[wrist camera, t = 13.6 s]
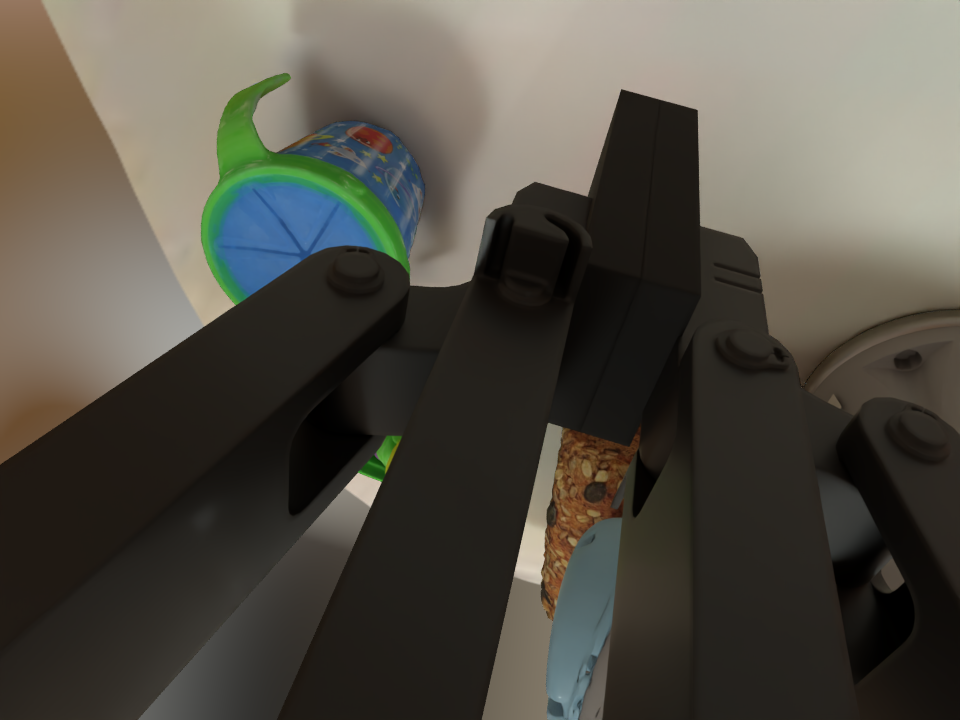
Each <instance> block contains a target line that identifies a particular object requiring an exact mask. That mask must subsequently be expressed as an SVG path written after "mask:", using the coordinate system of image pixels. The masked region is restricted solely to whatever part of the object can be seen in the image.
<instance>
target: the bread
mask: <svg viewBox="0 0 960 720" xmlns="http://www.w3.org/2000/svg"><path fill="white" fill-rule="evenodd" d="M640 430H641V424H640V426H639V428H638V430H637V432H636V434H635V436H634V438H633V440H632V443H631V445H630V447H628V446H624V445H621V444H618V443H614V442H611V441H608V440H604V439H601V438H598V437H594V436H591V435H588V434H585V433H581V432H578V431H575V430H571V429H568V428H565V427H563V430H562V438H561V448H560V450H559V453H558V465H557V468H556V471H555V478H554V485H553V489H552V496H553V497H552V499H551V501H550V506H549V507H548V509H547V528H546V531H545V550H546V551H545V553H544V557H545V561H544V565H543V568H542V571H541V574H542V577H543V579H542V582H541V588H542V590H541V601H542V604H543V607H544V610H546V613H547V616H548V618H549V619H551V620H552V621H553V619H554V613H555V609H556V604H557V599H558V595H559V591H560V587H561V584H562V580H563V577H564V574H565V571H566V568H567V565H568V562H569V560H570V557H571V555H572V554H573V551H574V549H575V547H576V545H577V543H578V541H579V540H580V538H581V537H582V536H583V534H584V533H585V532H586V531H587V530H588V529H589V528H590V527H592V526H593V525H594V524H596V523H597V522H599V521H602V520H605V519H609V518H622V515H623V505H624V498H623V500H622V502H621V504H620V506H619V508H618V510H617V509H614V508H611V507H610V506H611V503H612V501H613V498H614V496H615V494H616V492H617V490H618V488H619V486H620V484H621V482H622V480H623V478H624V475H625V473H626V471H627V469H628V467H629V465H630V463H631V461H632V459H633V457H634V455H635V453H636V451H637V449H638V447H639V443H640Z"/></svg>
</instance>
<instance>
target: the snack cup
mask: <svg viewBox="0 0 960 720" xmlns="http://www.w3.org/2000/svg"><path fill="white" fill-rule="evenodd" d="M290 79H291V76H290V75H289V74H287V73H283V74H280V75H275V76H273V77H270V78H267V79H265V80H263V81H261V82H259V83H257V84H255V85H253V86H251V87H249V88H246V89H244V90H242V91H240V92H238V93H237V94H235V95H234V96H233V97H232V98H231V99H230V101H229V102H228V104H227V106H226V107H225V109H224V112H223V115H222V117H221V119H220V124H219V129H218V134H217V157H218V164H219V170H220V172H219V174H220V179H219V182H218V185H217V186H216V188H215V189H214V190H213V192H212V193H211V195H210V196H209V198H208V200H207V202H206V205H205V207H204V210H203V214H202V221H201V241H202V245H203V249H204V253H205V256H206V260H207V263H208V265H209V267H210V269H211V271H212V273H213V275H214V277H215V279H216V280H217V282H218V284H219V285H220V287H221V288H222V289H223V291H224V292H225V293H226V294H227V296H228V297H229V298H230V299H231V300H232V302H233V303H234V304H235V305H237V304H239V303H240V302H242V301H243V300H245V299H246V298H248V297H249V296H250V295H252V294H253V293H255V292H256V291H258V290H259V289H261V288H262V287H264V286H265V285H267V284H268V283H270V282H271V281H273V280H274V279H276V278H277V277H279V276H280V275H282V274H283V273H285V272H286V271H287V270H289V269H290V268H292V267H293V266H295V265H296V264H298V263H299V262H301V261H302V260H304V259H305V258H307V257H308V256H310V255H311V254H314V253H316V252H318V251H320V250H323V249H325V248H329V247H337V246H344V245H349V246H362V247H368V248H371V249H374V250H377V251H380V252H384V253H386V254H388V255H389V256H391V257H392V258H394V259H396V260H397V261H399V262H400V263H401V264H402V265H403V267H404V268H405V269H406V271H407V272H408V273H409V280H410V266H409V261H408V258H409V256H410V250H411V247H412V244H413V241H414V237H415V234H416V230H417V225H418V222H419V219H420V215H421V208H422V205H423V199H424V196H425V184H424V183H423V180H422V177H421V173H420V169H419V167H418V165H417V163H416V162H415V160H414V158H413V156H412V155H411V154H410V152H409V151H408V150H407V148H406V147H405V146H404V145H403V144H402V143H401V141H400V139H399V137H397V136H395V135H394V134H393V133H392V132H391V131H389V130H385V129H383V128H380V127H377V126H375V125H371V124H368V123H364V122H358V121H342V122H335V123H333V124H330V125H328V126H325V127H323V128H322V129H320V130H317V131H315V132H314V133H313V134H311V135H308V136H306V137H304V138H302V139H300V140H299V141H297V142H295V143H293V144H291V145H290V146H288V147H286V148H284V149H282V150H281V151H279V152H277V153H274V152H271V151H269V150H268V149H266V148H265V146H264V145H263V143H262V142H261V140H260V138H259V136H258V133H257V131H256V128H255V125H254V123H253V120H252V116H253V113H254V111H255V109H256V106H257V103H258V101H259V99H260V98H261V97H263V96H264V95H266V94H267V93H269V92H271V91H273V90H275V89H276V88H278V87H280V86H282V85H283V84H285V83H286V82H288V81H289V80H290Z"/></svg>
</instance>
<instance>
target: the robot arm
mask: <svg viewBox="0 0 960 720" xmlns="http://www.w3.org/2000/svg"><path fill="white" fill-rule="evenodd" d="M760 276H761V275H760V268H759V261H758V257H757V256H756V254H755V253H754V252H753V250H752V249H751V248H750V246H749V245H748V244H747V242H746V241H745V240H744V239H743V238H741V237H737V236H734V235H730V234H726V233H723V232H719V231H716V230H712V229H709V228H705V227H702V226H700V203H699V151H698V110H695V109H692V108H688V107H684V106H681V105H677V104H673V103H670V102H666V101H662V100H659V99H655V98H651V97H648V96H644V95H640V94H637V93H633V92H629V91H626V90H622V89H621V92H620V95H619V99H618V102H617V105H616V108H615V111H614V114H613V118H612V121H611V124H610V127H609V130H608V133H607V137H606V140H605V143H604V146H603V149H602V152H601V156H600V159H599V162H598V165H597V168H596V172H595V175H594V178H593V181H592V184H591V187H590V191H589V194H588V197H587V196H583V195H579V194H576V193H572V192H569V191H565V190H562V189H558V188H555V187H551V186H547V185H544V184H540V183H537V182H534V183H532V184H530V185H529V186H527V187H525V188H523V189H521V190H520V191H518V192H517V193H516V196H515V198H514V200H513V203H512V205H507V206H504V207H501V208H498V209H495V210H494V211H493V212H491V213H490V214H489V215H488V216H487V217H486V221H485V226H484V230H483V235H482V239H481V244H480V249H479V253H478V258H477V262H476V267H475V271H474V275H473V277H472V280H471V281H469V282H466V283H464V284H461V285H457V286H450V287H422V286H410V280H409V273H408V272H407V271H406V269H405V268H404V267H403V265H402V264H401V263H400V262H399V261H397V260H396V259H394V258H392V257H391V256H389V255H388V254H386V253H384V252H380V251H377V250H374V249H371V248H368V247H362V246H349V245H344V246H337V247H329V248H325V249H323V250H320V251H318V252H316V253H314V254H311V255H310V256H308V257H307V258H305V259H304V260H302V261H301V262H299V263H298V264H296V265H295V266H293V267H292V268H290V269H289V270H287V271H286V272H285V273H283V274H282V275H280V276H279V277H277V278H276V279H274V280H273V281H271V282H270V283H268V284H267V285H265V286H264V287H262V288H261V289H259V290H258V291H256V292H255V293H253V294H252V295H250V296H249V297H248V298H246V299H245V300H243V301H242V302H240V303H239V304H237V305H236V306H234V307H233V308H231V309H230V310H228V311H227V312H225V313H224V314H222V315H221V316H219V317H218V318H216V319H215V320H214V321H212V322H211V323H209V324H208V325H206V326H205V327H203V328H202V329H200V330H199V331H197V332H196V333H194V334H193V335H191V336H190V337H188V338H187V339H186V340H184V341H182V342H181V343H179V344H178V345H177V346H175V347H174V348H172V349H171V350H169V351H168V352H166V353H165V354H163V355H162V356H160V357H159V358H157V359H156V360H154V361H153V362H152V363H150V364H148V365H147V366H145V367H144V368H143V369H141V370H140V371H138V372H137V373H135V374H134V375H132V376H131V377H129V378H128V379H126V380H125V381H123V382H122V383H120V384H119V385H117V386H116V387H115V388H113V389H111V390H110V391H108V392H107V393H106V394H104V395H103V396H101V397H100V398H98V399H97V400H95V401H94V402H92V403H91V404H89V405H88V406H86V407H85V408H83V409H82V410H80V411H79V412H77V413H76V414H75V415H73V416H72V417H70V418H69V419H67V420H66V421H64V422H63V423H61V424H60V425H58V426H57V427H55V428H54V429H52V430H51V431H49V432H48V433H46V434H45V435H44V436H42V437H40V438H39V439H38V440H36V441H35V442H33V443H32V444H30V445H29V446H27V447H26V448H24V449H23V450H21V451H20V452H19V453H17V454H15V455H14V456H13V457H11V458H9V459H8V460H6V461H5V462H4V463H2V464H1V465H0V720H138V719H139V718H140V716H141V715H142V714H143V713H144V712H145V711H146V710H147V709H148V708H149V706H150V705H151V704H152V703H153V702H154V701H155V700H156V699H157V697H158V696H159V695H160V694H161V693H162V692H163V690H165V688H166V687H167V686H168V685H169V684H170V683H171V682H172V681H173V679H174V678H175V677H176V676H177V675H178V674H179V673H180V672H181V670H182V669H183V668H184V667H185V666H186V665H187V664H188V663H189V661H190V660H191V659H192V658H193V657H194V656H195V655H196V654H197V653H198V651H199V650H200V649H201V648H202V647H203V646H204V645H205V643H206V642H207V641H208V640H209V639H210V638H211V637H212V636H213V635H214V633H215V632H216V631H217V630H218V629H219V628H220V627H221V626H222V624H223V623H224V622H225V621H226V620H227V619H228V618H229V616H230V615H231V614H232V613H233V612H234V611H235V610H236V609H237V608H238V607H239V605H240V604H241V603H242V602H243V601H244V600H245V599H246V598H247V596H248V595H249V594H250V593H251V592H252V591H253V590H254V589H255V587H256V586H257V585H258V584H259V583H260V582H261V581H262V580H263V578H264V577H265V576H266V575H267V574H268V573H269V572H270V571H271V569H272V568H273V567H274V566H275V565H276V564H277V563H278V562H279V561H280V559H281V558H282V557H283V556H284V555H285V554H286V553H287V551H288V550H289V549H290V548H291V547H292V546H293V545H294V543H296V541H297V540H298V539H299V538H300V537H301V536H302V535H303V534H304V532H305V531H306V530H307V529H308V528H309V527H310V526H311V524H312V523H313V522H314V521H315V520H316V519H317V518H318V517H319V515H320V514H321V513H322V512H323V511H324V510H325V509H326V508H327V507H328V506H329V504H330V503H331V502H332V501H333V500H334V499H335V498H336V497H337V495H338V494H339V493H340V492H341V491H342V490H343V489H344V488H345V486H346V485H347V484H348V483H349V482H350V481H351V480H352V479H353V477H354V476H355V475H356V474H357V473H358V472H359V471H360V470H361V469H362V467H363V466H364V465H365V464H366V463H367V462H368V461H369V460H370V458H371V457H372V456H373V455H374V454H375V453H376V452H377V451H378V449H379V448H380V447H381V446H382V444H383V442H384V440H385V438H386V437H387V436H402V438H401V440H400V442H399V445H398V447H397V449H396V452H395V454H394V456H393V458H392V461H391V463H390V465H389V467H388V470H387V472H386V474H385V476H384V479H383V481H382V483H381V485H380V488H379V490H378V492H377V494H376V497H375V499H374V501H373V504H372V506H371V508H370V510H369V513H368V515H367V517H366V520H365V522H364V524H363V526H362V529H361V531H360V533H359V535H358V538H357V540H356V542H355V544H354V546H353V549H352V551H351V553H350V556H349V558H348V560H347V562H346V565H345V567H344V569H343V571H342V574H341V576H340V578H339V580H338V583H337V585H336V587H335V590H334V592H333V594H332V596H331V599H330V601H329V603H328V605H327V608H326V610H325V612H324V615H323V617H322V619H321V621H320V623H319V626H318V628H317V630H316V632H315V635H314V637H313V639H312V641H311V644H310V646H309V648H308V650H307V653H306V655H305V657H304V660H303V662H302V664H301V666H300V669H299V671H298V674H297V675H296V678H295V680H294V682H293V685H292V687H291V689H290V691H289V693H288V696H287V698H286V700H285V703H284V705H283V707H282V710H281V712H280V714H279V716H278V719H277V720H482V715H483V711H484V706H485V702H486V697H487V693H488V688H489V684H490V679H491V675H492V670H493V666H494V661H495V657H496V653H497V648H498V644H499V639H500V634H501V630H502V625H503V621H504V617H505V612H506V608H507V603H508V599H509V594H510V589H511V585H512V581H513V576H514V572H515V567H516V563H517V558H518V554H519V549H520V545H521V540H522V536H523V531H524V527H525V522H526V518H527V513H528V509H529V504H530V500H531V495H532V491H533V486H534V482H535V477H536V473H537V468H538V464H539V459H540V455H541V450H542V446H543V441H544V437H545V432H546V428H547V423H551V424H555V425H558V426H561V427H565V428H568V429H571V430H575V431H578V432H581V433H585V434H588V435H591V436H594V437H598V438H601V439H604V440H608V441H611V442H614V443H618V444H621V445H624V446H628V447H630V445H631V443H632V440H633V438H634V436H635V434H636V432H637V430H638V428H639V426H640V424H641V430H640V443H639V447H638V449H637V451H636V453H635V455H634V457H633V459H632V461H631V463H630V465H629V467H628V469H627V471H626V473H625V475H624V478H623V480H622V482H621V484H620V486H619V488H618V490H617V492H616V494H615V496H614V498H613V501H612V503H611V506H610V507H611V508H614V509H617V510H618V508H619V506H620V504H621V502H622V500H623V498H624V505H623V515H622V518H609V519H605V520H602V521H599V522H597V523H596V524H594V525H593V526H592V527H590V528H589V529H588V530H587V531H586V532H585V533H584V534H583V536H582V537H581V538H580V540H579V541H578V543H577V545H576V547H575V549H574V551H573V554H572V555H571V557H570V560H569V562H568V565H567V568H566V571H565V574H564V577H563V580H562V584H561V587H560V591H559V595H558V599H557V604H556V609H555V613H554V619H553V625H552V631H551V637H550V645H549V654H548V663H547V675H546V690H547V694H548V696H549V698H548V707H547V718H548V720H960V310H945V311H934V312H927V313H921V314H916V315H912V316H907V317H903V318H900V319H897V320H893V321H890V322H887V323H885V324H882V325H879V326H877V327H875V328H872V329H870V330H868V331H866V332H864V333H862V334H860V335H858V336H856V337H854V338H853V339H851V340H849V341H848V342H846V343H845V344H843V345H842V346H840V347H839V348H838V349H836V350H835V351H834V352H833V353H831V354H830V355H829V356H828V357H827V358H826V359H825V360H824V361H823V362H822V363H821V364H820V365H819V366H818V367H817V368H816V369H815V371H814V372H813V374H812V375H811V376H810V378H809V379H808V381H807V383H806V384H805V386H804V388H802V387H801V385H800V380H799V374H798V369H797V366H796V364H795V361H794V359H793V357H792V355H791V353H790V352H789V351H788V350H787V349H786V348H785V347H784V346H783V345H782V344H781V343H780V342H779V341H778V340H776V339H775V338H773V337H772V336H770V335H769V332H768V325H767V318H766V311H765V304H764V297H763V294H762V291H763V290H762V283H761V279H760Z"/></svg>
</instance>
